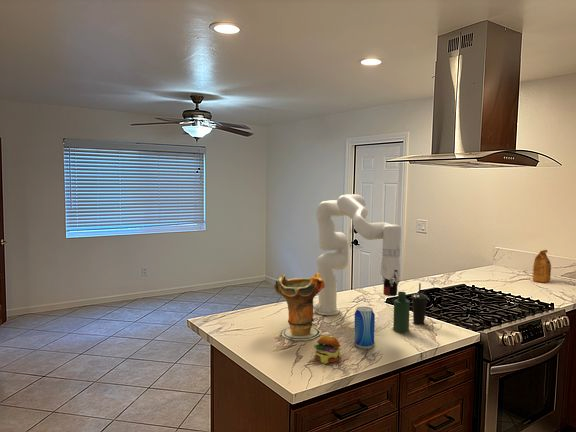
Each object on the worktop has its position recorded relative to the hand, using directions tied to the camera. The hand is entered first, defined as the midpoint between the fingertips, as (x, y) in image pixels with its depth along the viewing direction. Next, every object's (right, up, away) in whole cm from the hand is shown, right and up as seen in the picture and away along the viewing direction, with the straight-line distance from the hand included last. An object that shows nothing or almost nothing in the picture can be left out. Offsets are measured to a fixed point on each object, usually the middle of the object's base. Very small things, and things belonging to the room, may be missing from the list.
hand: (390, 292), depth 182 cm
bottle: (+8, -20, +12) cm, 25 cm away
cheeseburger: (-29, -23, -19) cm, 42 cm away
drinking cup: (+20, -19, +22) cm, 35 cm away
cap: (0, -1, 0) cm, 1 cm away
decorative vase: (-40, -20, +8) cm, 45 cm away
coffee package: (+133, -12, +107) cm, 171 cm away
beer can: (-13, -21, -6) cm, 26 cm away
